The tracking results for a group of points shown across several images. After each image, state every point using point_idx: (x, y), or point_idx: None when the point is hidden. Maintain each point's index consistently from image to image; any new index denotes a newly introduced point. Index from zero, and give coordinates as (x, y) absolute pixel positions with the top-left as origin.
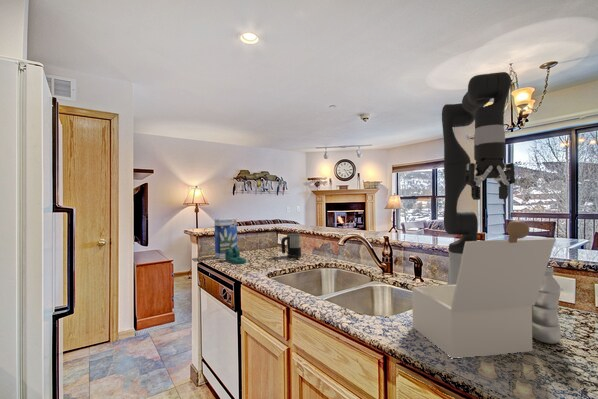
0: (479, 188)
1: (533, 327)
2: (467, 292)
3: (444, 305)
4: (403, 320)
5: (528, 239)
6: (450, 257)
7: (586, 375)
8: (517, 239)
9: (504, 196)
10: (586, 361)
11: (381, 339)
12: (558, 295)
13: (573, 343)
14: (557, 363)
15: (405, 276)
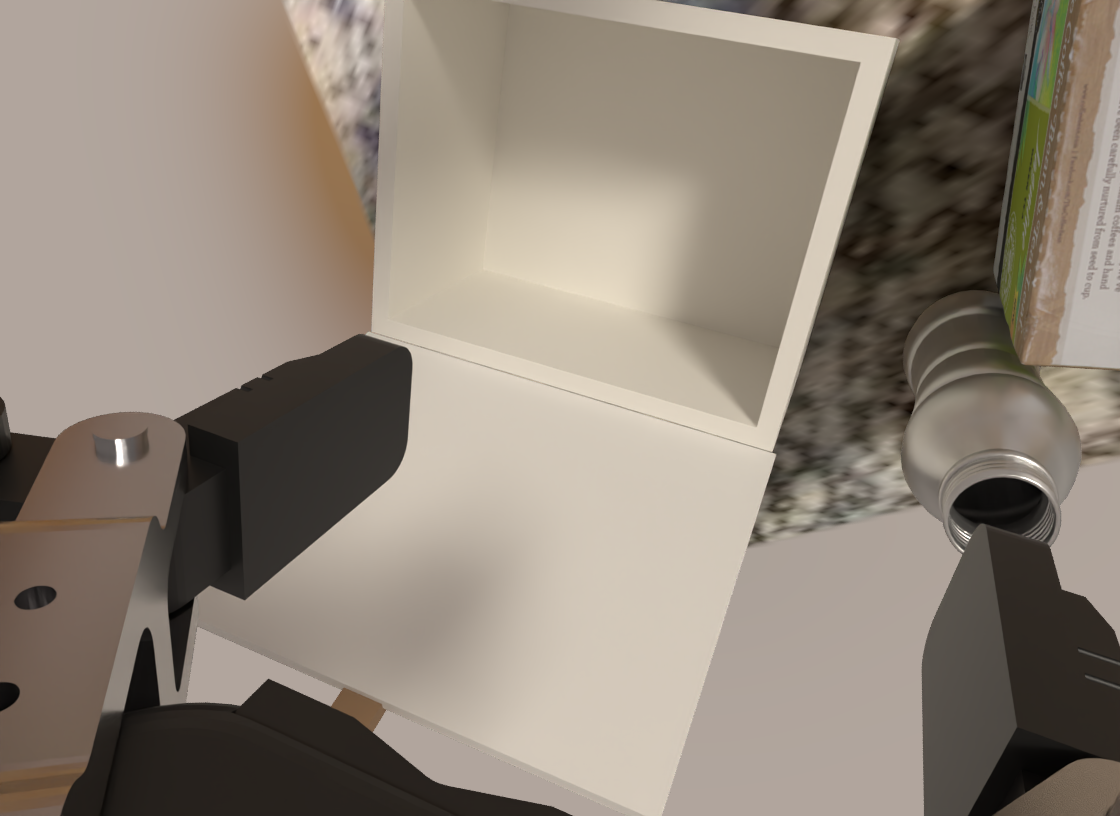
0: (257, 569)
1: (910, 341)
2: None
3: (374, 284)
4: None
5: (471, 743)
6: None
7: (793, 523)
8: (406, 711)
9: (924, 672)
10: (910, 493)
11: (317, 46)
12: (977, 506)
13: (1068, 409)
14: (790, 450)
15: None
